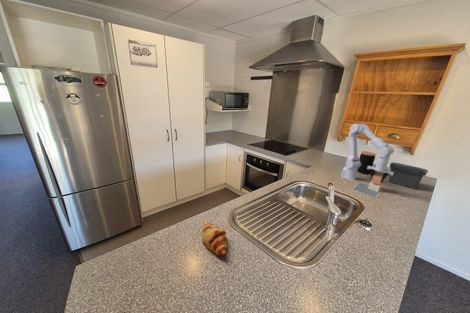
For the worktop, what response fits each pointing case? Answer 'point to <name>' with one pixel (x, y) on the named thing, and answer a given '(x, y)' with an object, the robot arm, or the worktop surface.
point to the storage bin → (406, 175)
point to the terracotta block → (376, 179)
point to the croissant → (214, 238)
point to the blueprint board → (368, 189)
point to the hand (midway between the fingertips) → (376, 181)
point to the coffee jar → (366, 162)
